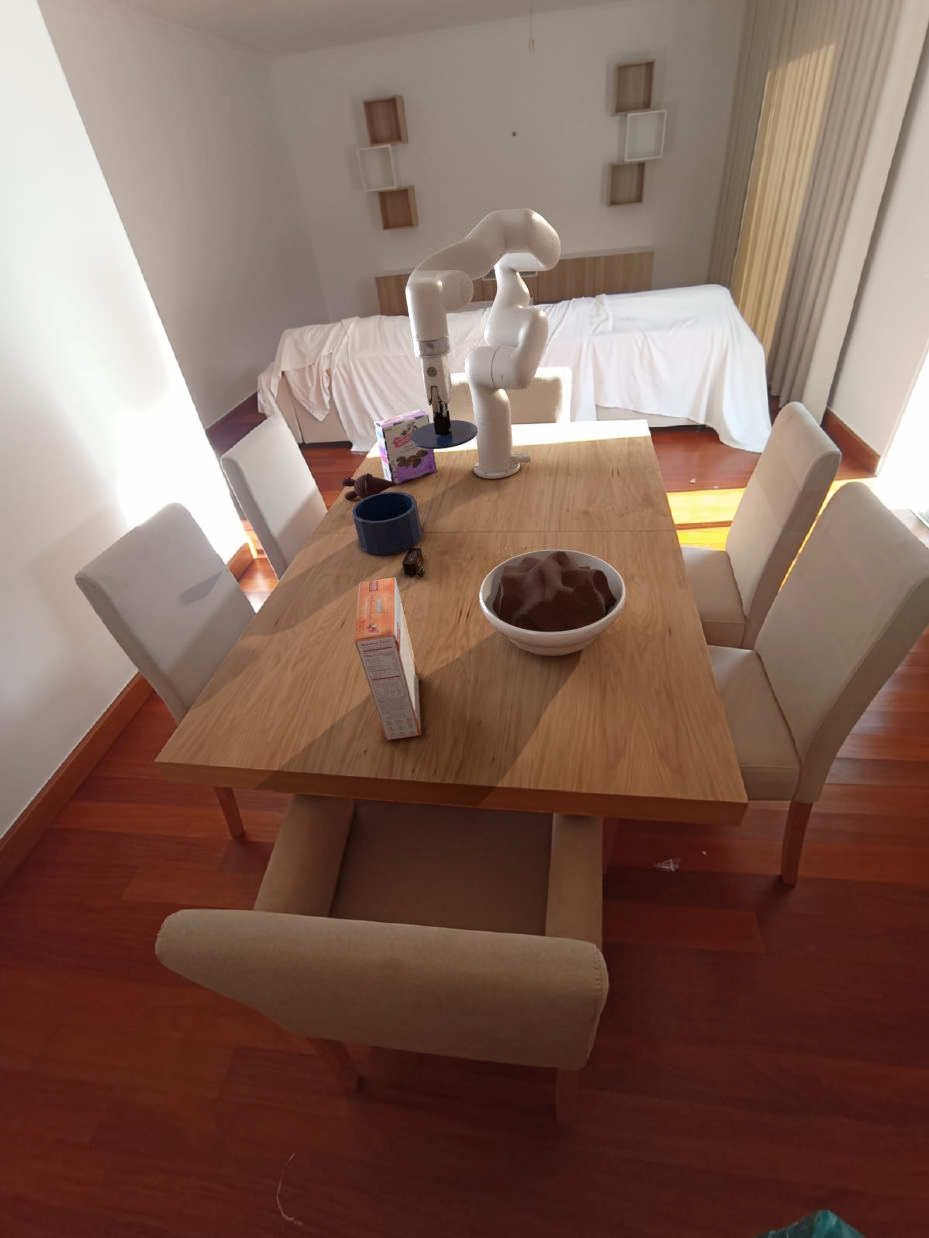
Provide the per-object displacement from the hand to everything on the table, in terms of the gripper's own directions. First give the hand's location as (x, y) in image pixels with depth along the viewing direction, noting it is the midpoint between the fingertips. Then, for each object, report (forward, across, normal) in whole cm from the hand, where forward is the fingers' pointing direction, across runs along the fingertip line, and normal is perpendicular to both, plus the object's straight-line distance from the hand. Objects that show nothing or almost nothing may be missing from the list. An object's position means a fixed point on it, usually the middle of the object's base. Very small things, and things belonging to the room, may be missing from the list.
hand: (443, 430), depth 137 cm
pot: (+20, -13, +14) cm, 28 cm away
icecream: (+20, +9, +23) cm, 32 cm away
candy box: (+20, +21, +14) cm, 32 cm away
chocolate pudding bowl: (+20, -49, -22) cm, 57 cm away
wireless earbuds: (+20, -27, +6) cm, 34 cm away
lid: (+1, 0, 0) cm, 1 cm away
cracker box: (+20, -67, +3) cm, 70 cm away
